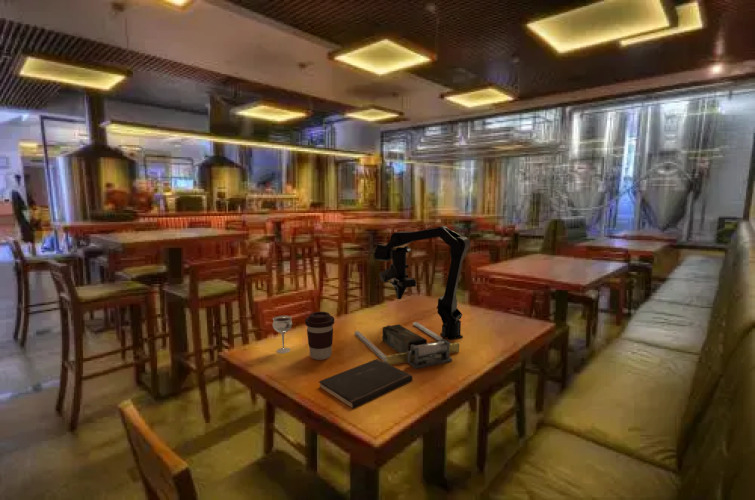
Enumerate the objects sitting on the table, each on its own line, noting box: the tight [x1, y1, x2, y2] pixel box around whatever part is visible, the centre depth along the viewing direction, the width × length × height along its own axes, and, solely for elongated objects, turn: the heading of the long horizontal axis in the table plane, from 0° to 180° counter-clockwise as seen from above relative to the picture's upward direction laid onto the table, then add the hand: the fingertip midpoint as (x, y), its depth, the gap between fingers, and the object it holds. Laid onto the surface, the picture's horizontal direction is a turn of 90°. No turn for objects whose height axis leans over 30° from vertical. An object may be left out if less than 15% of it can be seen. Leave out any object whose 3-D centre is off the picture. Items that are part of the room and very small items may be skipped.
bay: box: [354, 321, 460, 366], centre depth 149 cm, size 28×31×3 cm
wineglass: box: [272, 314, 293, 354], centre depth 141 cm, size 7×7×12 cm
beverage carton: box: [381, 324, 428, 353], centre depth 143 cm, size 8×19×7 cm, turn 28°
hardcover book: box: [318, 358, 413, 410], centre depth 117 cm, size 16×23×2 cm
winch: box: [405, 338, 453, 370], centre depth 131 cm, size 16×5×6 cm, turn 114°
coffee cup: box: [304, 311, 335, 361], centre depth 136 cm, size 10×10×15 cm
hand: (399, 299), depth 164 cm, fingers closed
